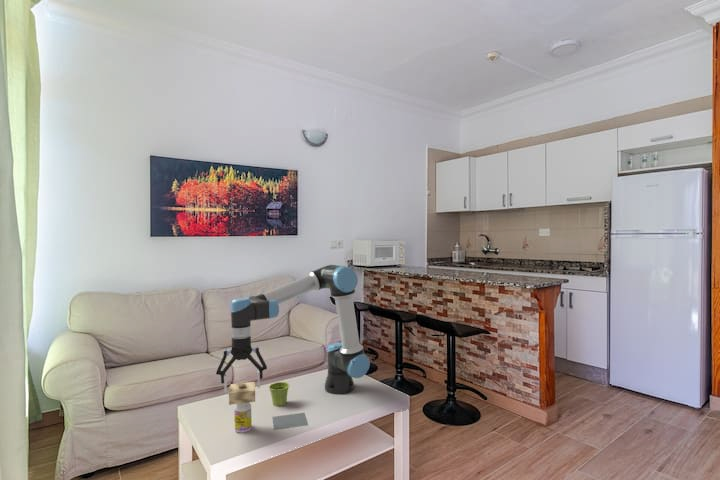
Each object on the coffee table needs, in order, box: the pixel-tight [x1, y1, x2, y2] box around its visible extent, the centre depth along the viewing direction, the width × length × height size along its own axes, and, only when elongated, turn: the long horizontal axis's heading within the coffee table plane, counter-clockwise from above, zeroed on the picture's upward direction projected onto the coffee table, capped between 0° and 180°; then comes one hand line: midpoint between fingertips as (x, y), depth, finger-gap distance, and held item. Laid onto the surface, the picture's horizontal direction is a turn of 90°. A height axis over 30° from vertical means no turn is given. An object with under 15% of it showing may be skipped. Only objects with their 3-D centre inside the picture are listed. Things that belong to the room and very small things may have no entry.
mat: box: [271, 412, 309, 431], centre depth 168 cm, size 14×12×1 cm
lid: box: [228, 381, 256, 406], centre depth 162 cm, size 10×10×5 cm
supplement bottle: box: [234, 402, 253, 433], centre depth 162 cm, size 7×7×13 cm
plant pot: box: [268, 381, 290, 407], centre depth 186 cm, size 9×9×9 cm
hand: (242, 388), depth 162 cm, fingers open, 12 cm apart
